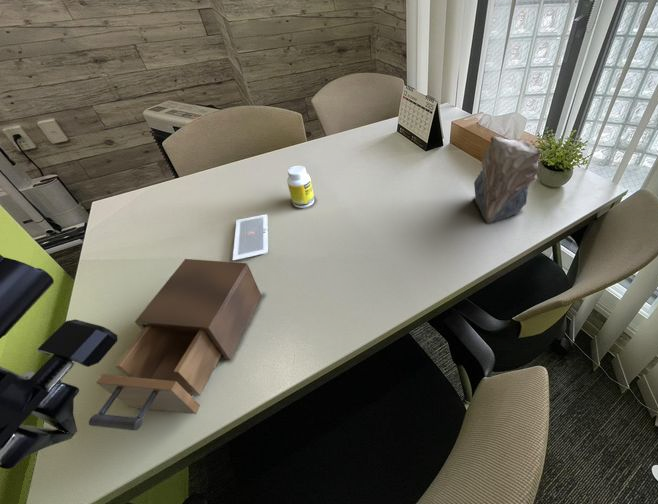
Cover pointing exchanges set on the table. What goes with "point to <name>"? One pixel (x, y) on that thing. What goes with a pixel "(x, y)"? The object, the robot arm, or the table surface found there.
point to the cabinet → (206, 301)
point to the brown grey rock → (505, 178)
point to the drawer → (159, 374)
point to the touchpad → (251, 237)
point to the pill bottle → (300, 187)
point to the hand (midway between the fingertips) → (71, 433)
